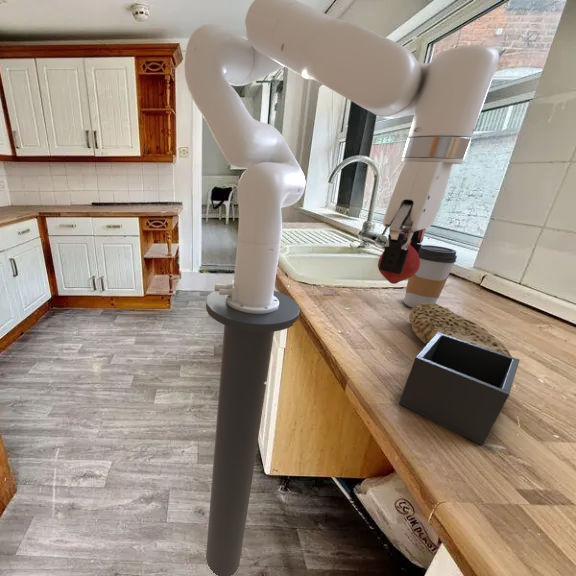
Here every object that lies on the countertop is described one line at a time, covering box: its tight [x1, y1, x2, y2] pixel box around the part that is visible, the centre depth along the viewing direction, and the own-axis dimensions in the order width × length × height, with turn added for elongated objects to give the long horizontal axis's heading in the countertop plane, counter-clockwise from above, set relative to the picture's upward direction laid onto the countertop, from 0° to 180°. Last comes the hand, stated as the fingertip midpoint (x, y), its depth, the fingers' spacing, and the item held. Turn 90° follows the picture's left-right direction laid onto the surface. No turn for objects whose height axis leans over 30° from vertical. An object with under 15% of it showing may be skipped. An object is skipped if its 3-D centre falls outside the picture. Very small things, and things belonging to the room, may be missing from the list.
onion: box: [377, 240, 420, 285], centre depth 52 cm, size 6×6×8 cm
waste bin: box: [398, 332, 520, 446], centre depth 44 cm, size 11×9×8 cm
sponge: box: [409, 303, 513, 357], centre depth 58 cm, size 13×8×20 cm
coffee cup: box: [403, 244, 458, 309], centre depth 76 cm, size 8×8×15 cm
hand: (397, 267), depth 52 cm, fingers closed on onion, 5 cm apart
